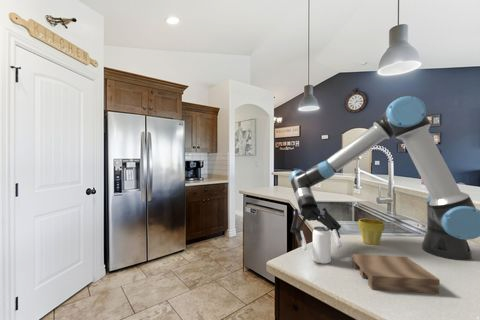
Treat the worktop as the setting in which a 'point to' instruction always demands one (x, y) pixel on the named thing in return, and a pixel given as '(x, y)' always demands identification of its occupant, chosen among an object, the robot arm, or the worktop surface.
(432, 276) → the platform
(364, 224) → the plant pot
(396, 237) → the worktop surface
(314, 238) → the can
